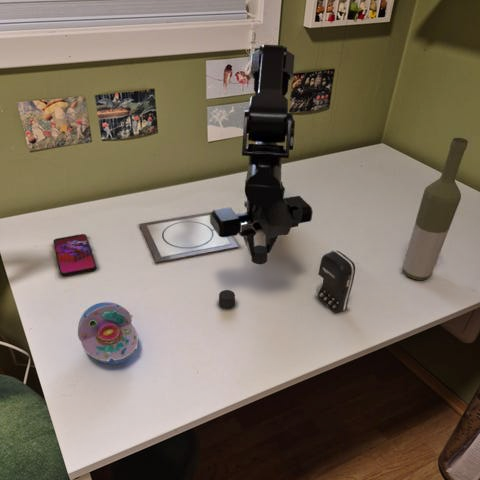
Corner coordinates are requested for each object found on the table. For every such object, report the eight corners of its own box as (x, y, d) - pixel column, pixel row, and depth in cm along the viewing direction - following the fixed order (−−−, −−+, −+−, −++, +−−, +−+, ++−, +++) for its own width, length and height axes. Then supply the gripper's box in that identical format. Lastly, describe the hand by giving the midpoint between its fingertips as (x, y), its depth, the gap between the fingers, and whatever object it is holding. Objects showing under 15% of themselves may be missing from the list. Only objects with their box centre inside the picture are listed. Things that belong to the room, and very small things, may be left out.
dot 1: (231, 298, 97) (231, 288, 96) (237, 307, 95) (237, 297, 93) (216, 301, 96) (216, 291, 95) (222, 310, 94) (222, 301, 92)
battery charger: (311, 297, 98) (319, 251, 90) (326, 292, 99) (334, 246, 92) (332, 316, 94) (342, 269, 86) (347, 310, 95) (358, 264, 87)
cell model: (98, 384, 79) (87, 343, 72) (76, 341, 86) (64, 301, 80) (152, 362, 83) (147, 322, 76) (127, 323, 90) (120, 284, 84)
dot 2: (263, 254, 95) (264, 243, 94) (269, 262, 93) (270, 252, 91) (248, 257, 94) (249, 246, 93) (255, 265, 92) (255, 255, 91)
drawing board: (214, 213, 124) (214, 210, 124) (238, 247, 112) (239, 245, 111) (139, 225, 118) (139, 223, 118) (156, 263, 106) (156, 261, 105)
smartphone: (60, 274, 100) (52, 238, 111) (61, 277, 101) (53, 242, 111) (96, 267, 103) (85, 233, 113) (97, 270, 103) (86, 236, 113)
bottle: (438, 276, 105) (489, 143, 85) (417, 286, 102) (464, 150, 82) (414, 261, 109) (457, 130, 89) (393, 270, 106) (432, 137, 86)
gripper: (230, 209, 74) (229, 287, 85) (333, 191, 80) (320, 267, 90) (208, 179, 82) (209, 254, 92) (303, 165, 87) (294, 237, 98)
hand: (259, 253), depth 93 cm, fingers closed on dot 2, 3 cm apart
